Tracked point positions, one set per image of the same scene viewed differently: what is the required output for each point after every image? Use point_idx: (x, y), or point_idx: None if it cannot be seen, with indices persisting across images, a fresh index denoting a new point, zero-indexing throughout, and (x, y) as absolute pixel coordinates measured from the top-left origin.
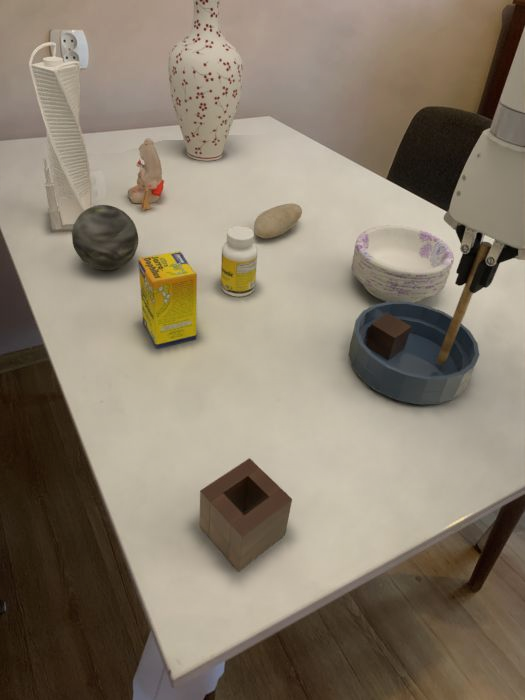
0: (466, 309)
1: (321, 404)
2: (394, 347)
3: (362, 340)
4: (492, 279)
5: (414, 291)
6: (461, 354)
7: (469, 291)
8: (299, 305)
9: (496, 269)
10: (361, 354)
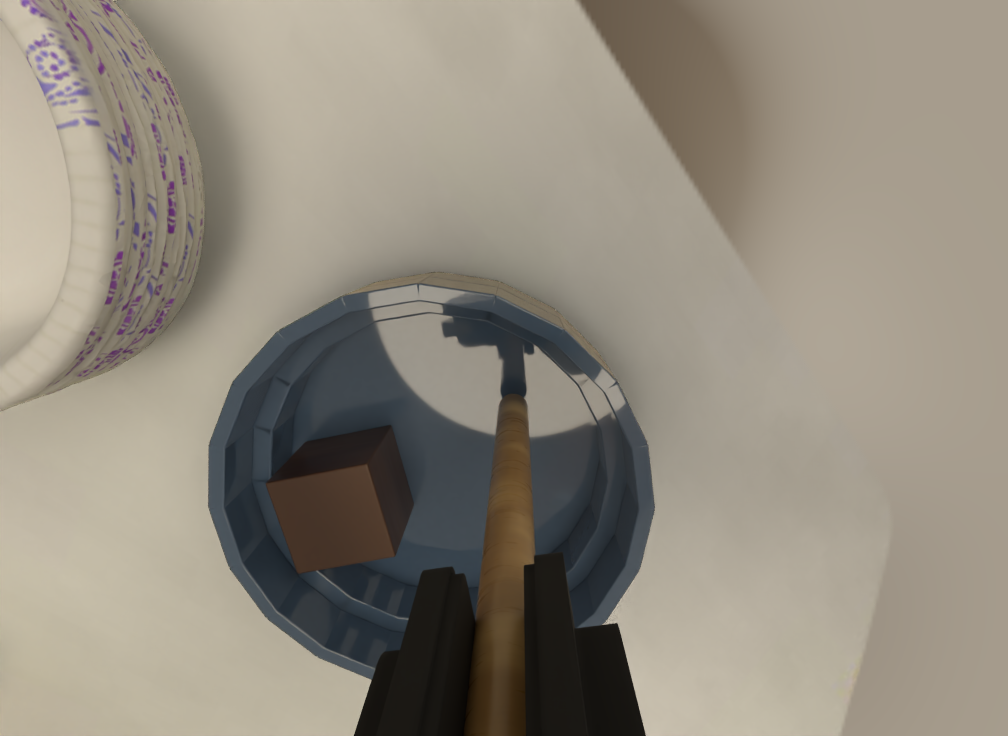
0: (532, 522)
1: None
2: (402, 515)
3: None
4: (622, 647)
5: (172, 281)
6: (535, 345)
7: None
8: (77, 548)
9: (642, 732)
10: None
